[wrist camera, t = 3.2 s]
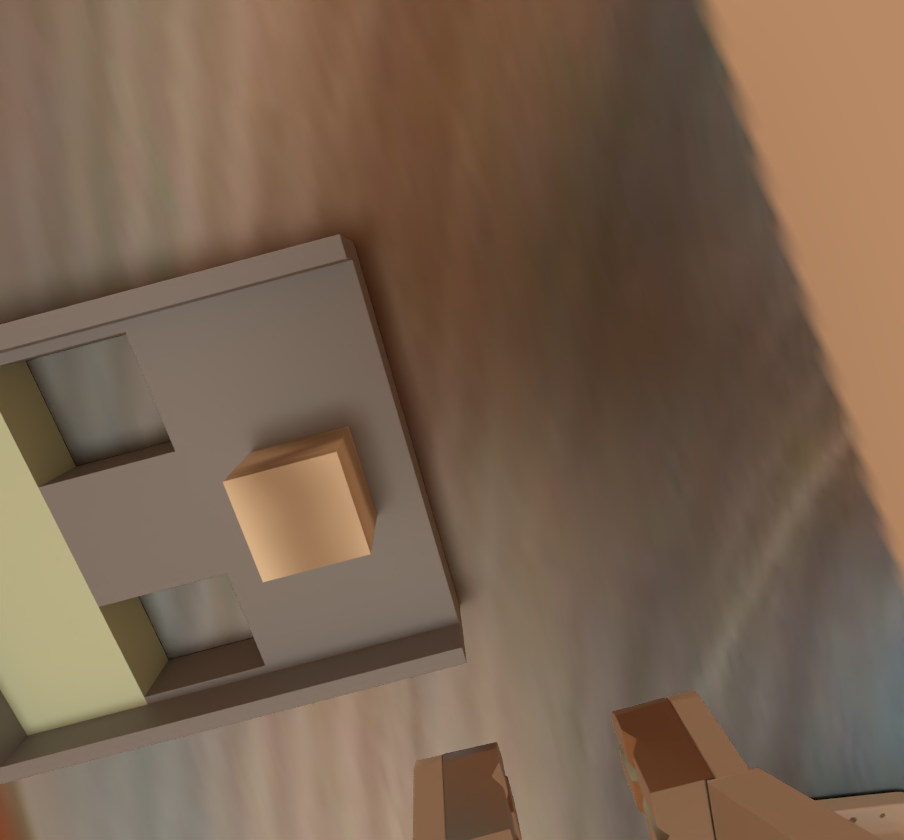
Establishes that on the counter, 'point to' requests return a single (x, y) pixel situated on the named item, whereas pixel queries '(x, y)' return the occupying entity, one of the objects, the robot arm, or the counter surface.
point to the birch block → (303, 504)
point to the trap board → (206, 515)
